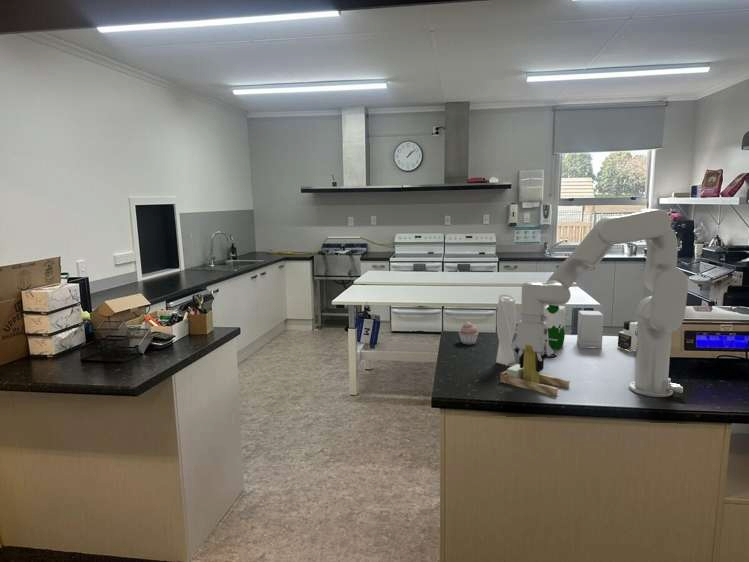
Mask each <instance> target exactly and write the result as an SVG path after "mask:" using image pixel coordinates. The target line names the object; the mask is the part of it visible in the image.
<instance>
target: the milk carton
mask: <svg viewBox="0 0 749 562" xmlns="http://www.w3.org/2000/svg"><path fill="white" fill-rule="evenodd" d="M544 314H545V316H546V317H548V320H547V321H544V322H546V323H547V328H548V338H549V346H550V347H551V349H552V350H557V351H558V350H559V351H560V350H562V348H563V347H564V343H565V342H564V341H565V335H566V334H565V333H566V306H565V305H561V306H555V305H549V304H546V305H545V306H544ZM562 346H563V347H562Z"/></svg>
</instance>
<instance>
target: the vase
mask: <svg viewBox="0 0 749 562" xmlns="http://www.w3.org/2000/svg"><path fill="white" fill-rule="evenodd" d="M525 346H526V347H525V349H524V357H523V373H522V380H526V381H531V382H535V383H539V384H541V382H540V374H541V371H540V372H537V361H538V356H537V353H536V352H534V351H533V349H532V346H528V345H525Z"/></svg>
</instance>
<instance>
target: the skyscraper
mask: <svg viewBox="0 0 749 562" xmlns="http://www.w3.org/2000/svg"><path fill="white" fill-rule="evenodd" d="M516 326H517V306H516V300H515V298H514V297H513V296H511V295H508V294H499V296H498V303H497V310H496V331H497V337H498V346H497V347H498V348H497V354H496V359H495V360H496V361H495V363H496V364H497V363H498V365H501V364H502V365H501V366H504V365H505V366H504V367H508V366H509V367H508V368H510V367H512V366H514V365H516V364H519V356H518V354H517V352H516V351H515V349H514V348H513V347H512V346H511V344H512V343H513V339H514V336H515V332H516ZM515 352H516V354H515Z"/></svg>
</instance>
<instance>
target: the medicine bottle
mask: <svg viewBox="0 0 749 562" xmlns="http://www.w3.org/2000/svg"><path fill="white" fill-rule="evenodd" d="M636 328H638V327H637V320H636V321H635V320H625V321H624V322H623V330H622V331H618V335H617V348H618V347H620V348H619V349H621V348H623V349H622V350H624V349H627V350H629V351H633V352H635V351H634V350H637V336H636V335H635V330H636V331H637V329H636ZM629 351H628V352H629Z"/></svg>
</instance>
